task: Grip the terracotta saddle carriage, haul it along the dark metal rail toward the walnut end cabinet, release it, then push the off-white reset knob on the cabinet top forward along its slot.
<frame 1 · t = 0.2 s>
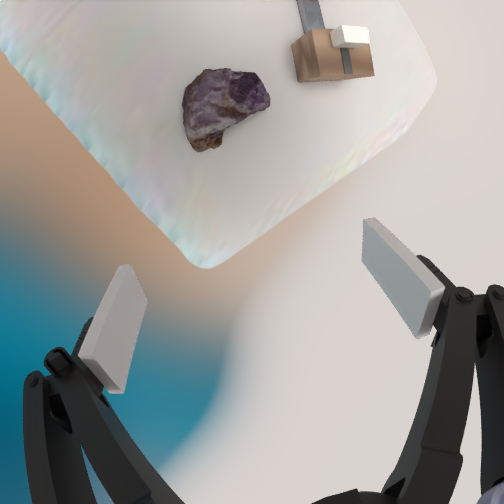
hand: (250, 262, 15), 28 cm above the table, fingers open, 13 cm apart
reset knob: (349, 37, 22), point 12 cm above the table, slide at 0.0 cm
rail: (305, 2, 28), on the table
cabinet: (317, 62, 33), on the table
rock: (219, 105, 36), on the table
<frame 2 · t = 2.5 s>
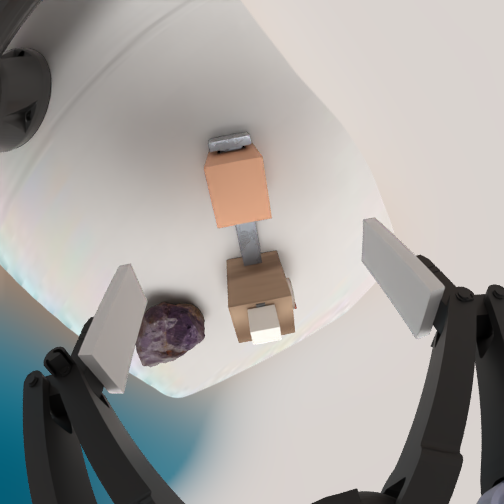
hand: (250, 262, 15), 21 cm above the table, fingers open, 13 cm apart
carriage: (236, 180, 29), point 4 cm above the table, slide at 0.0 cm
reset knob: (264, 324, 29), point 12 cm above the table, slide at 0.0 cm
rail: (241, 204, 35), on the table
cabinet: (254, 272, 41), on the table
rock: (166, 313, 43), on the table
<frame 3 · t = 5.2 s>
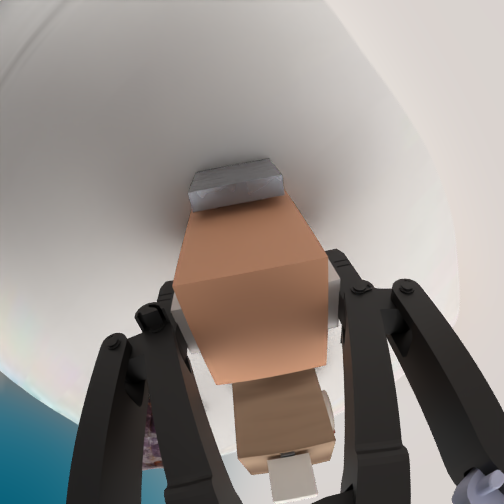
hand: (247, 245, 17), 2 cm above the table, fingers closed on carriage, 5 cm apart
carriage: (251, 270, 14), point 5 cm above the table, slide at 0.0 cm, touching gripper
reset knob: (292, 479, 15), point 12 cm above the table, slide at 0.0 cm
rail: (256, 286, 21), on the table
cabinet: (272, 369, 26), on the table
rock: (151, 405, 29), on the table
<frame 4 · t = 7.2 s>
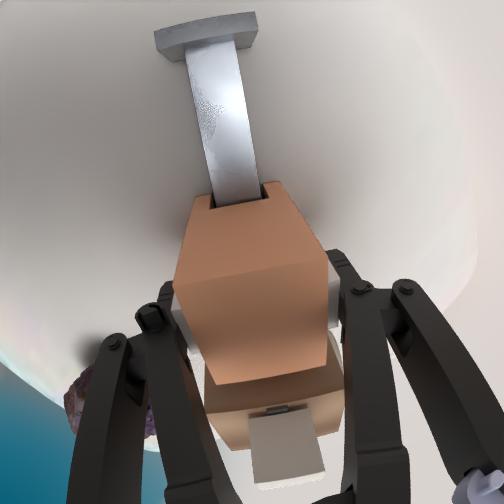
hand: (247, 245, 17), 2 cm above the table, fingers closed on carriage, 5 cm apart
carriage: (251, 270, 14), point 5 cm above the table, slide at 7.9 cm, touching gripper
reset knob: (285, 451, 11), point 12 cm above the table, slide at 0.0 cm
rail: (235, 181, 17), on the table
cabinet: (260, 312, 22), on the table
rock: (121, 368, 25), on the table
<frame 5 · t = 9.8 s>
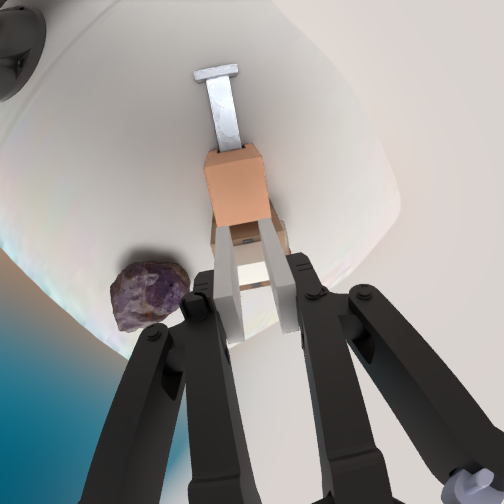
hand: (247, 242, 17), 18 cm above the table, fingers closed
carriage: (236, 180, 29), point 4 cm above the table, slide at 8.0 cm
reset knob: (251, 262, 25), point 12 cm above the table, slide at 0.0 cm
rail: (229, 143, 31), on the table
cabinet: (245, 222, 37), on the table
rock: (150, 276, 40), on the table
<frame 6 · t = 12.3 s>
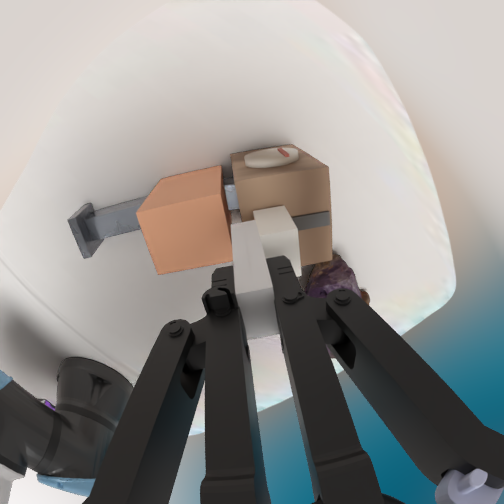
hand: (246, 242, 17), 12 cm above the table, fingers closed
carriage: (192, 213, 23), point 5 cm above the table, slide at 8.0 cm
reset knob: (276, 241, 17), point 12 cm above the table, slide at 0.3 cm, touching gripper
rail: (163, 203, 27), on the table
cabinet: (266, 182, 27), on the table
rock: (325, 290, 35), on the table
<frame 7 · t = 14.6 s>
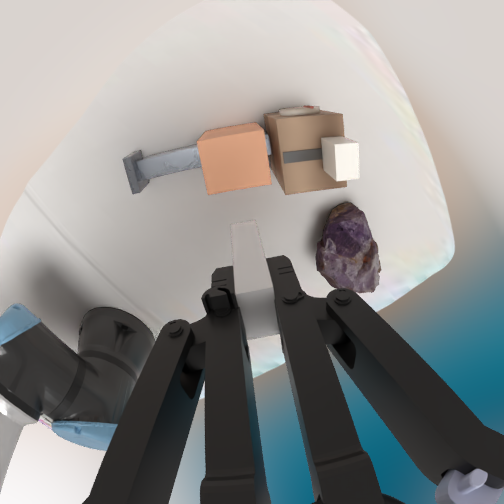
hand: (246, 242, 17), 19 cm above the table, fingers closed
carriage: (234, 153, 28), point 4 cm above the table, slide at 8.0 cm
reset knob: (339, 157, 22), point 12 cm above the table, slide at 3.2 cm
rail: (206, 152, 32), on the table
cabinet: (291, 138, 32), on the table
rock: (339, 238, 40), on the table
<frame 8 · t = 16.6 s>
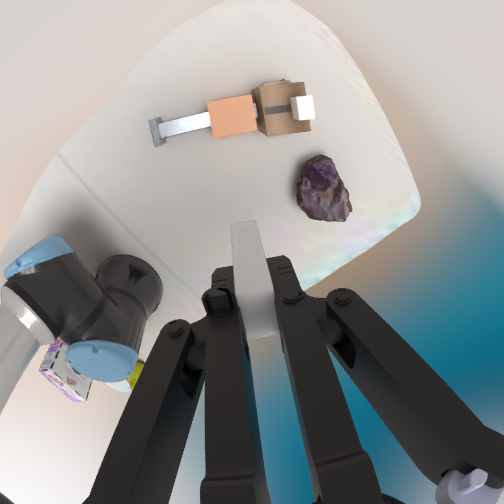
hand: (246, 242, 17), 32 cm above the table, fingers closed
carriage: (231, 115, 38), point 5 cm above the table, slide at 8.0 cm
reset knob: (302, 107, 31), point 12 cm above the table, slide at 3.2 cm
rail: (209, 118, 42), on the table
cabinet: (273, 107, 42), on the table
fruit: (138, 363, 70), on the table
rock: (316, 186, 50), on the table
candy box: (80, 340, 64), on the table
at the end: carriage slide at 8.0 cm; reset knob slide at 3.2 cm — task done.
